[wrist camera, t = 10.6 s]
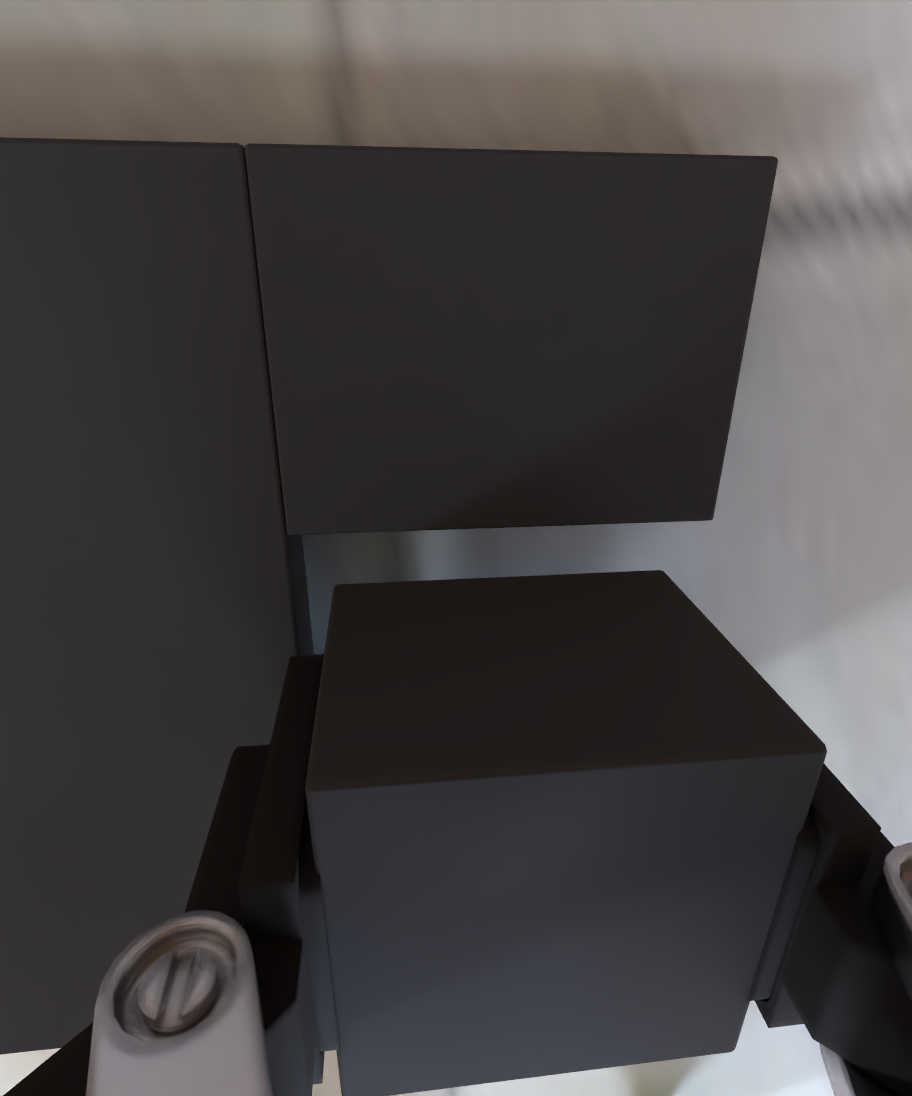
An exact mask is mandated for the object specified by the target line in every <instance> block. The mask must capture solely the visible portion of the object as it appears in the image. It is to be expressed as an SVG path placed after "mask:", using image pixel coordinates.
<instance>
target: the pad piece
mask: <svg viewBox="0 0 912 1096" xmlns="http://www.w3.org/2000/svg"><path fill="white" fill-rule="evenodd" d="M826 753H827V750H826V746H825V744H824V743H823V742H822V741H821V740H820V739H819V738H818V736H817V735H816V734H815V733H814V732H813V731H812V730H811V729H810V728H809V727H808V726H807V725H806V724H805V723H804V721H803V720H802V719H801V718H800V717H799V716H798V715H797V714H796V713H795V712H794V711H793V710H792V709H791V708H790V706H789V705H788V704H787V703H786V702H785V701H784V700H783V699H782V698H781V697H780V696H779V695H778V694H777V693H776V691H775V690H774V689H773V688H772V687H771V686H770V685H769V684H768V683H767V682H766V681H765V680H764V679H763V678H762V676H761V675H760V674H759V673H758V672H757V671H756V670H755V669H754V668H753V667H752V666H751V665H750V664H749V663H748V661H747V660H746V659H745V658H744V657H743V656H742V655H741V654H740V653H739V652H738V651H737V650H736V649H735V648H734V646H733V645H732V644H731V643H730V642H729V641H728V640H727V639H726V638H725V637H724V636H723V635H722V634H721V633H720V631H719V630H718V629H717V628H716V627H715V626H714V625H713V624H712V623H711V622H710V621H709V620H708V619H707V618H706V616H705V615H704V614H703V613H702V612H701V611H700V610H699V609H698V608H697V607H696V606H695V605H694V604H693V603H692V601H691V600H690V599H689V598H688V597H687V596H686V595H685V594H684V593H683V592H682V591H681V590H680V589H679V588H678V586H677V585H676V584H675V583H674V582H673V581H672V580H671V579H670V578H669V577H668V576H667V575H666V574H665V573H664V572H663V571H661V570H653V571H631V572H609V573H586V574H564V575H541V576H519V577H497V578H474V579H452V580H430V581H407V582H385V583H362V584H340V585H336V586H335V587H334V589H333V596H332V603H331V610H330V617H329V624H328V631H327V638H326V645H325V653H324V660H323V667H322V674H321V681H320V688H319V695H318V702H317V709H316V716H315V723H314V730H313V737H312V744H311V751H310V758H309V765H308V772H307V780H306V787H305V790H306V798H307V807H308V815H309V824H310V832H311V841H312V849H313V857H314V866H315V870H316V873H317V874H318V875H320V877H321V886H322V894H323V903H324V912H325V921H326V929H327V938H328V947H329V955H330V964H331V973H332V982H333V990H334V999H335V1008H336V1017H337V1025H338V1034H339V1043H340V1049H339V1050H336V1051H337V1059H338V1068H339V1076H340V1084H341V1093H342V1096H389V1095H397V1094H405V1093H413V1092H421V1091H429V1090H436V1089H444V1088H452V1087H460V1086H468V1085H476V1084H483V1083H491V1082H499V1081H507V1080H515V1079H523V1078H530V1077H538V1076H546V1075H554V1074H562V1073H570V1072H577V1071H585V1070H593V1069H601V1068H609V1067H617V1066H625V1065H632V1064H640V1063H648V1062H656V1061H664V1060H672V1059H679V1058H687V1057H695V1056H703V1055H711V1054H719V1053H726V1052H732V1051H733V1050H734V1049H735V1047H736V1044H737V1041H738V1037H739V1034H740V1031H741V1028H742V1025H743V1021H744V1018H745V1015H746V1012H747V1008H748V1005H749V1002H750V1001H748V1000H747V999H748V996H749V992H750V989H751V986H752V983H753V979H754V976H755V973H756V970H757V966H758V963H759V960H760V957H761V953H762V950H763V947H764V943H765V940H766V937H767V934H768V930H769V927H770V924H771V921H772V917H773V914H774V911H775V908H776V904H777V901H778V898H779V894H780V891H781V888H782V885H783V881H784V878H785V875H786V872H787V868H788V865H789V862H790V859H791V855H792V852H793V849H794V845H795V842H796V839H797V836H798V833H800V832H801V831H802V830H803V827H804V824H805V821H806V817H807V814H808V811H809V808H810V805H811V801H812V798H813V795H814V792H815V788H816V785H817V782H818V779H819V775H820V772H821V769H822V766H823V762H824V759H825V756H826Z"/></svg>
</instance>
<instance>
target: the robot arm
mask: <svg viewBox="0 0 912 1096" xmlns="http://www.w3.org/2000/svg"><path fill="white" fill-rule="evenodd" d="M323 660H324V654H321V655H303V656H291V657H290V659H289V663H288V667H287V672H286V676H285V681H284V685H283V689H282V694H281V698H280V702H279V707H278V711H277V716H276V720H275V724H274V729H273V733H272V737H271V742H270V744H269V745H255V746H240V747H237V748H236V749H235V750H234V752H233V754H232V757H231V759H230V763H229V766H228V769H227V773H226V776H225V779H224V783H223V786H222V789H221V793H220V796H219V799H218V803H217V806H216V809H215V813H214V816H213V819H212V823H211V826H210V829H209V832H208V836H207V839H206V842H205V846H204V849H203V852H202V856H201V859H200V862H199V866H198V869H197V872H196V876H195V879H194V882H193V886H192V889H191V892H190V896H189V899H188V902H187V906H186V909H185V912H184V913H180V914H176V915H174V916H171V917H169V918H167V919H165V920H163V921H160V922H158V923H156V924H154V925H152V926H151V927H150V928H148V929H147V930H145V931H144V932H143V933H141V934H140V935H139V936H137V937H136V938H135V939H133V940H132V941H131V942H130V943H129V944H128V945H127V947H126V948H125V949H124V950H123V951H122V952H121V953H120V954H119V955H118V956H117V958H116V959H115V960H114V961H113V963H112V965H111V967H110V968H109V970H108V972H107V974H106V975H105V977H104V979H103V980H102V982H101V985H100V989H99V993H98V997H97V1001H96V1004H95V1010H94V1020H93V1022H92V1023H91V1024H90V1025H89V1026H88V1027H86V1028H85V1029H84V1030H83V1031H81V1032H80V1033H79V1034H78V1035H77V1036H75V1037H74V1038H73V1039H72V1040H71V1041H69V1042H68V1043H67V1044H66V1045H64V1046H63V1047H62V1048H61V1049H60V1050H58V1051H57V1052H56V1053H55V1054H53V1055H52V1056H51V1057H50V1058H49V1059H47V1060H46V1061H45V1062H44V1063H42V1064H41V1065H40V1066H39V1067H38V1068H36V1069H35V1070H34V1071H33V1072H31V1073H30V1074H29V1075H28V1076H27V1077H25V1078H24V1079H23V1080H22V1081H20V1082H19V1083H18V1084H17V1085H16V1086H14V1087H13V1088H12V1089H11V1090H9V1091H8V1092H7V1093H6V1094H5V1095H3V1096H312V1085H313V1084H320V1083H322V1079H323V1064H324V1051H330V1050H339V1049H340V1043H339V1034H338V1025H337V1017H336V1008H335V999H334V990H333V982H332V973H331V964H330V955H329V947H328V938H327V929H326V921H325V912H324V903H323V894H322V886H321V877H320V875H318V874H317V873H316V870H315V866H314V857H313V849H312V841H311V832H310V824H309V815H308V807H307V798H306V790H305V787H306V780H307V772H308V765H309V758H310V751H311V744H312V737H313V730H314V723H315V716H316V709H317V702H318V695H319V688H320V681H321V674H322V667H323ZM880 830H881V827H880V826H879V825H878V824H877V823H876V821H875V820H874V819H873V818H872V817H871V816H870V815H869V814H868V812H867V811H866V810H865V809H864V808H863V807H862V806H861V805H860V804H859V802H858V801H857V800H856V799H855V798H854V797H853V796H852V795H851V793H850V792H849V791H848V790H847V789H846V788H845V787H844V786H843V784H842V783H841V782H840V781H839V780H838V779H837V778H836V777H835V775H834V774H833V773H832V772H831V771H830V770H829V769H828V768H827V767H826V765H825V764H824V763H823V766H822V769H821V772H820V775H819V779H818V782H817V785H816V788H815V792H814V795H813V798H812V801H811V805H810V808H809V811H808V814H807V817H806V821H805V824H804V827H803V830H802V831H801V832H800V833H798V836H797V839H796V842H795V845H794V849H793V852H792V855H791V859H790V862H789V865H788V868H787V872H786V875H785V878H784V881H783V885H782V888H781V891H780V894H779V898H778V901H777V904H776V908H775V911H774V914H773V917H772V921H771V924H770V927H769V930H768V934H767V937H766V940H765V943H764V947H763V950H762V953H761V957H760V960H759V963H758V966H757V970H756V973H755V976H754V979H753V983H752V986H751V989H750V992H749V996H748V999H747V1000H748V1001H751V1000H755V1002H756V1004H757V1006H758V1008H759V1010H760V1012H761V1014H762V1016H763V1018H764V1020H765V1022H766V1024H767V1026H768V1028H772V1027H781V1026H789V1025H797V1024H805V1026H806V1028H807V1029H808V1031H809V1033H810V1035H811V1037H812V1038H813V1039H814V1040H816V1041H817V1042H819V1043H820V1049H821V1054H822V1057H823V1060H824V1064H825V1067H826V1070H827V1073H828V1076H829V1080H830V1083H831V1086H832V1089H833V1093H834V1096H912V843H907V844H903V845H900V846H897V847H894V846H893V845H892V844H891V843H890V842H889V841H888V839H887V838H886V837H885V836H884V835H883V834H882V833H881V832H880Z"/></svg>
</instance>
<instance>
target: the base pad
mask: <svg viewBox="0 0 912 1096" xmlns="http://www.w3.org/2000/svg"><path fill="white" fill-rule="evenodd" d="M777 163H778V160H777V158H775V157H774V156H734V155H694V154H653V153H613V152H573V151H533V150H492V149H452V148H412V147H372V146H331V145H291V144H251V143H249V144H247V145H246V146H245V148H244V147H243V146H242V145H240V144H238V143H203V142H163V141H122V140H82V139H42V138H1V137H0V1054H8V1053H18V1052H27V1051H36V1050H45V1049H54V1048H62V1047H63V1046H64V1045H66V1044H67V1043H68V1042H69V1041H71V1040H72V1039H73V1038H74V1037H75V1036H77V1035H78V1034H79V1033H80V1032H81V1031H83V1030H84V1029H85V1028H86V1027H88V1026H89V1025H90V1024H91V1023H92V1022H93V1020H94V1010H95V1004H96V1001H97V997H98V993H99V989H100V985H101V982H102V980H103V979H104V977H105V975H106V974H107V972H108V970H109V968H110V967H111V965H112V963H113V961H114V960H115V959H116V958H117V956H118V955H119V954H120V953H121V952H122V951H123V950H124V949H125V948H126V947H127V945H128V944H129V943H130V942H131V941H132V940H133V939H135V938H136V937H137V936H139V935H140V934H141V933H143V932H144V931H145V930H147V929H148V928H150V927H151V926H152V925H154V924H156V923H158V922H160V921H163V920H165V919H167V918H169V917H171V916H174V915H176V914H180V913H184V912H185V909H186V906H187V902H188V899H189V896H190V892H191V889H192V886H193V882H194V879H195V876H196V872H197V869H198V866H199V862H200V859H201V856H202V852H203V849H204V846H205V842H206V839H207V836H208V832H209V829H210V826H211V823H212V819H213V816H214V813H215V809H216V806H217V803H218V799H219V796H220V793H221V789H222V786H223V783H224V779H225V776H226V773H227V769H228V766H229V763H230V759H231V757H232V754H233V752H234V750H235V749H236V748H237V747H240V746H255V745H269V744H270V742H271V737H272V733H273V729H274V724H275V720H276V716H277V711H278V707H279V702H280V698H281V694H282V689H283V685H284V681H285V676H286V672H287V667H288V663H289V659H290V657H291V656H303V655H314V652H313V642H312V632H311V622H310V612H309V602H308V593H307V583H306V573H305V563H304V553H303V543H302V535H304V534H332V533H361V532H390V531H419V530H447V529H476V528H505V527H534V526H563V525H591V524H620V523H649V522H678V521H707V520H712V519H713V516H714V510H715V505H716V499H717V494H718V488H719V483H720V477H721V472H722V466H723V461H724V455H725V450H726V444H727V439H728V433H729V428H730V422H731V417H732V411H733V406H734V400H735V395H736V389H737V384H738V378H739V373H740V367H741V362H742V356H743V350H744V345H745V339H746V334H747V328H748V323H749V317H750V312H751V306H752V301H753V295H754V290H755V284H756V279H757V273H758V268H759V262H760V257H761V251H762V246H763V240H764V235H765V229H766V224H767V218H768V213H769V207H770V202H771V196H772V191H773V185H774V180H775V174H776V168H777Z"/></svg>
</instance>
